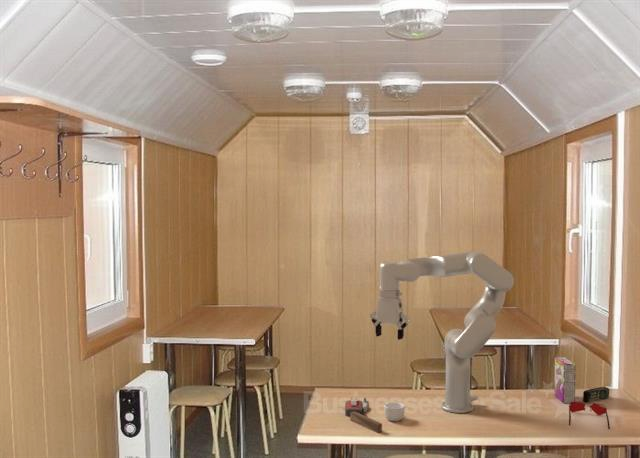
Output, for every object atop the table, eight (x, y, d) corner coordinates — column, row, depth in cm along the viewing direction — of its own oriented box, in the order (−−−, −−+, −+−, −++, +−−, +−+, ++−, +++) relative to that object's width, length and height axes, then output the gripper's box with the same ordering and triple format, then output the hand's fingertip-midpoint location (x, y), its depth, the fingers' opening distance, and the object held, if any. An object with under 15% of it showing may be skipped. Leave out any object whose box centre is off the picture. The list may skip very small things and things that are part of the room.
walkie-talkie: (367, 418, 251) (367, 401, 271) (367, 407, 251) (367, 391, 271) (344, 418, 252) (346, 401, 272) (344, 406, 251) (346, 390, 271)
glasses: (606, 416, 253) (607, 403, 253) (610, 431, 238) (610, 417, 237) (568, 412, 258) (568, 399, 258) (568, 426, 242) (569, 413, 242)
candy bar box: (553, 395, 278) (554, 357, 277) (565, 395, 278) (566, 357, 277) (563, 404, 266) (563, 364, 265) (575, 403, 266) (576, 364, 265)
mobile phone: (587, 392, 267) (612, 386, 274) (581, 390, 270) (606, 384, 276) (587, 404, 267) (612, 397, 274) (581, 402, 270) (606, 395, 277)
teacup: (404, 423, 245) (404, 409, 245) (383, 422, 246) (384, 408, 246) (404, 414, 255) (404, 400, 255) (384, 413, 256) (384, 399, 256)
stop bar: (354, 419, 250) (354, 411, 249) (381, 431, 236) (381, 423, 236) (350, 420, 248) (350, 412, 248) (377, 432, 235) (377, 424, 235)
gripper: (413, 294, 254) (413, 338, 255) (375, 290, 264) (375, 333, 265) (404, 297, 248) (404, 342, 249) (365, 293, 258) (365, 336, 259)
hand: (389, 337), depth 257 cm, fingers open, 9 cm apart
